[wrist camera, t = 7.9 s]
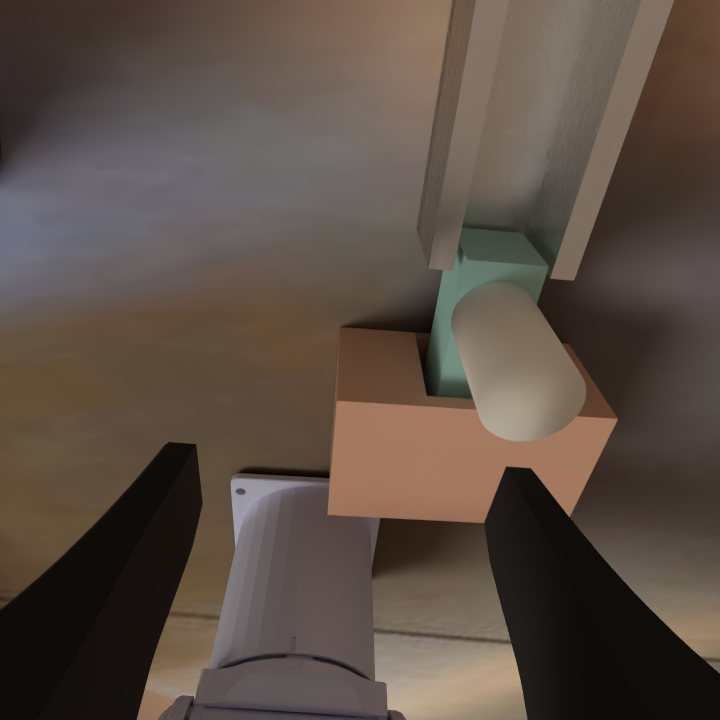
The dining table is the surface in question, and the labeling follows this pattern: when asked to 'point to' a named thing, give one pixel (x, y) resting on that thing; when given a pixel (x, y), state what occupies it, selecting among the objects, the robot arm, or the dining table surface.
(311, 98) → the dining table surface
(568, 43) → the grey u-channel
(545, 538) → the robot arm
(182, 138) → the dining table surface
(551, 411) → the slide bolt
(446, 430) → the socket block
